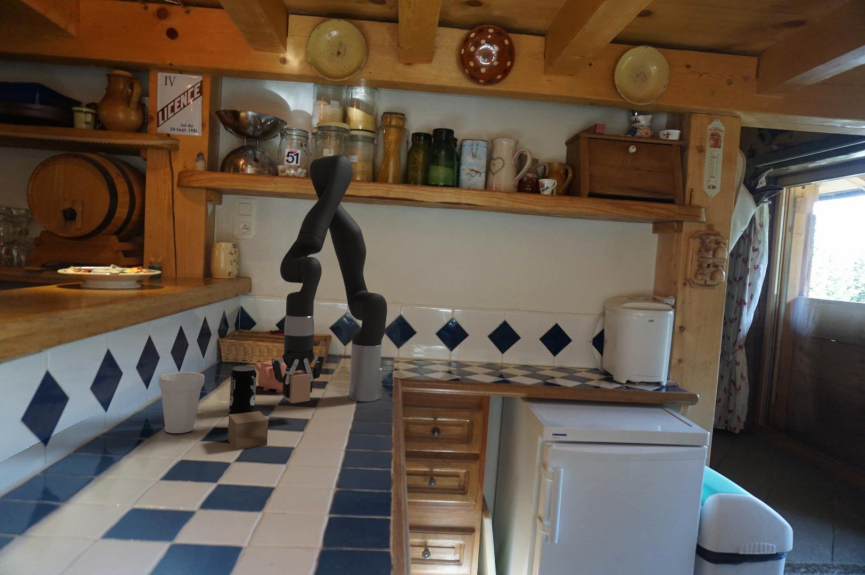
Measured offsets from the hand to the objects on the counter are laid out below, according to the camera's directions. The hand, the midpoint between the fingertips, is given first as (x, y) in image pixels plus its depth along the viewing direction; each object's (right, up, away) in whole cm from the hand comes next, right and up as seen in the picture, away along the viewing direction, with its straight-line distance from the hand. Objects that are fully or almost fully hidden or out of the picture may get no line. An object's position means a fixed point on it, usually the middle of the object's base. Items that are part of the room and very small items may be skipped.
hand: (297, 395), depth 138 cm
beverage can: (-16, -5, +4) cm, 18 cm away
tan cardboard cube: (0, -1, 0) cm, 1 cm away
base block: (-7, -7, -18) cm, 21 cm away
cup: (-25, -6, -13) cm, 29 cm away
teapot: (-14, -4, +29) cm, 33 cm away
